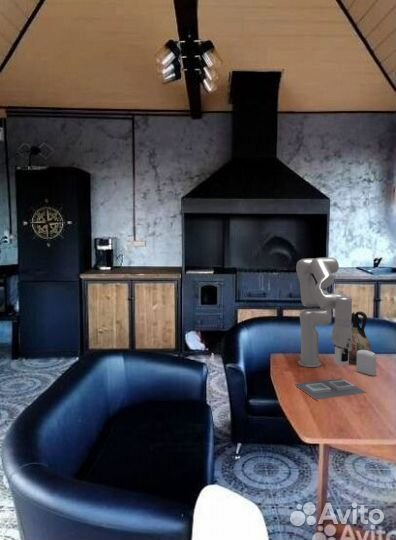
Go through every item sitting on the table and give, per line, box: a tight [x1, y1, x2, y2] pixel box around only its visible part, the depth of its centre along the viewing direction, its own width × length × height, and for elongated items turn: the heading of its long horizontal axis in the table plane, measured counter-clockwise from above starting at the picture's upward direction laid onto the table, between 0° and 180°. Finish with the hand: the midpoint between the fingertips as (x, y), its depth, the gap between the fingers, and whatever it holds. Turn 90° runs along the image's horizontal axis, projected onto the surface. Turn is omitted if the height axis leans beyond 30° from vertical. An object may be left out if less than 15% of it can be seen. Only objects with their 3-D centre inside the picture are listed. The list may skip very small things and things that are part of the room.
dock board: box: [294, 378, 367, 402], centre depth 206 cm, size 20×26×2 cm
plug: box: [334, 346, 350, 366], centre depth 207 cm, size 4×6×8 cm
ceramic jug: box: [349, 311, 372, 364], centre depth 248 cm, size 17×15×30 cm
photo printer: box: [355, 350, 377, 377], centre depth 229 cm, size 10×4×12 cm, turn 39°
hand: (341, 359), depth 207 cm, fingers closed on plug, 4 cm apart
